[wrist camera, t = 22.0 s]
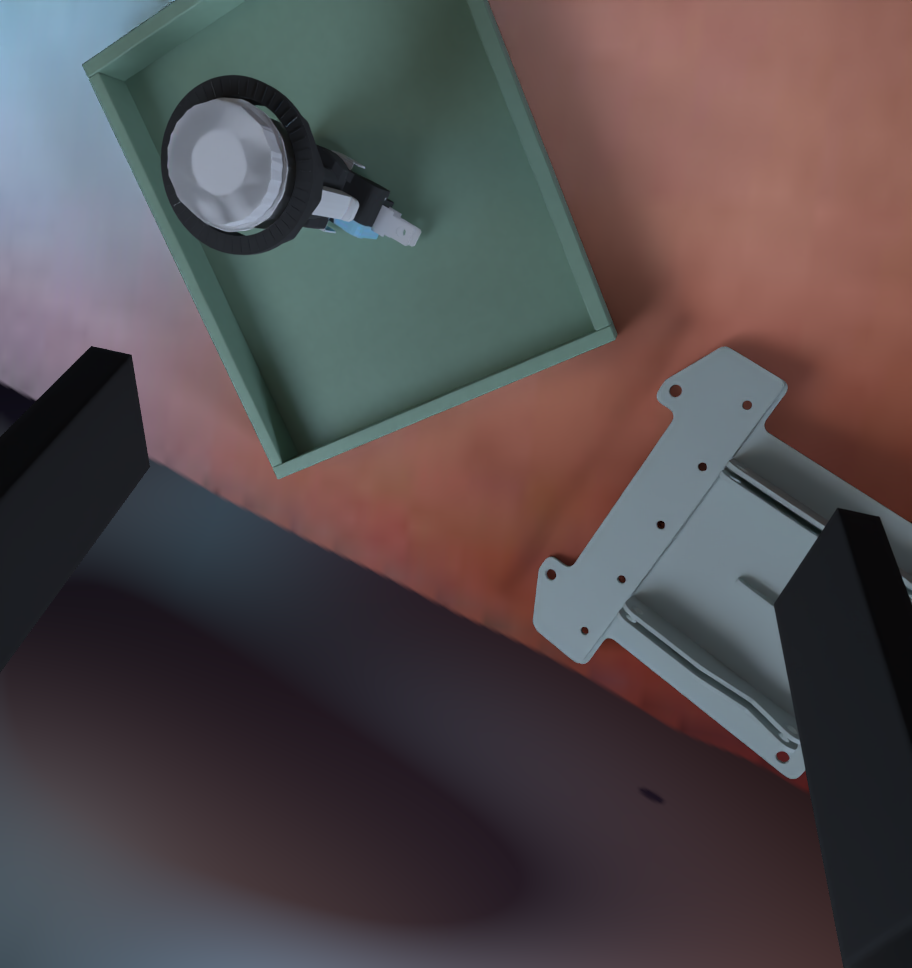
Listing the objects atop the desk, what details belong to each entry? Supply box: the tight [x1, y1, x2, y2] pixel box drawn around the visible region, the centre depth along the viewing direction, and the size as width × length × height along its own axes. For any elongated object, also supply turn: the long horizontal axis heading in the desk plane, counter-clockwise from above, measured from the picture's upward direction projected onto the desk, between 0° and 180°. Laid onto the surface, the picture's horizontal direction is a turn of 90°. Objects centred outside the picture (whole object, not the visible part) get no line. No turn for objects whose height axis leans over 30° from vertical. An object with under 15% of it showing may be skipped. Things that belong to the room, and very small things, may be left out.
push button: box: [161, 75, 421, 255], centre depth 28 cm, size 7×5×10 cm
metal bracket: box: [533, 347, 912, 779], centre depth 32 cm, size 14×6×15 cm
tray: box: [82, 0, 617, 479], centre depth 32 cm, size 19×16×2 cm
